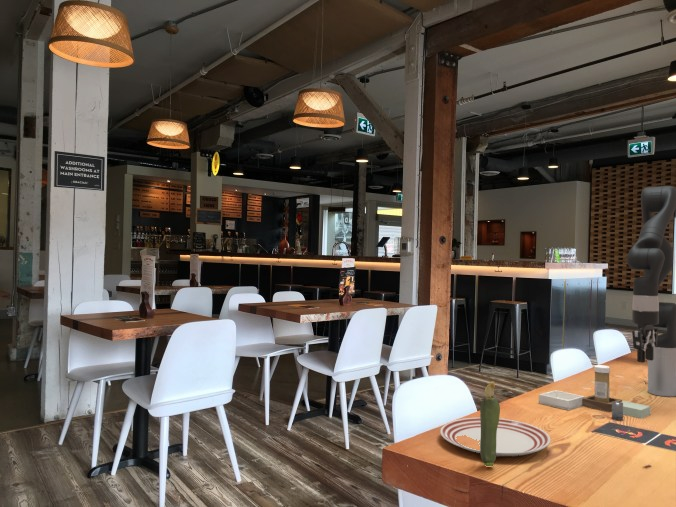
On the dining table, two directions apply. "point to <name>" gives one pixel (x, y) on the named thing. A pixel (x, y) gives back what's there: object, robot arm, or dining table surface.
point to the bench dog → (617, 410)
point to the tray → (561, 400)
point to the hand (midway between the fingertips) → (645, 360)
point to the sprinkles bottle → (602, 383)
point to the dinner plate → (499, 436)
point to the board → (636, 410)
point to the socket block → (598, 403)
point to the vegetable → (489, 425)
